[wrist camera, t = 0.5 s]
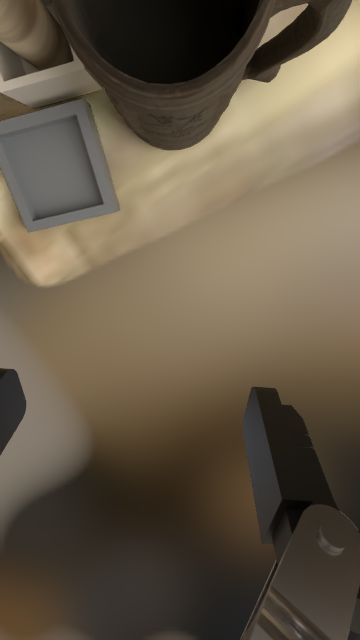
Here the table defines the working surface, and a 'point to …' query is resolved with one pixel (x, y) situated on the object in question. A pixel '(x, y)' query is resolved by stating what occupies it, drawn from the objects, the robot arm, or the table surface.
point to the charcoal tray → (56, 166)
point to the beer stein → (186, 55)
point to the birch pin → (33, 33)
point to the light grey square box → (43, 77)
